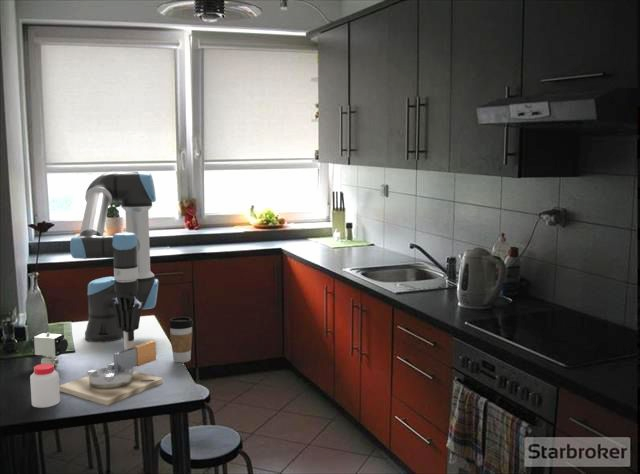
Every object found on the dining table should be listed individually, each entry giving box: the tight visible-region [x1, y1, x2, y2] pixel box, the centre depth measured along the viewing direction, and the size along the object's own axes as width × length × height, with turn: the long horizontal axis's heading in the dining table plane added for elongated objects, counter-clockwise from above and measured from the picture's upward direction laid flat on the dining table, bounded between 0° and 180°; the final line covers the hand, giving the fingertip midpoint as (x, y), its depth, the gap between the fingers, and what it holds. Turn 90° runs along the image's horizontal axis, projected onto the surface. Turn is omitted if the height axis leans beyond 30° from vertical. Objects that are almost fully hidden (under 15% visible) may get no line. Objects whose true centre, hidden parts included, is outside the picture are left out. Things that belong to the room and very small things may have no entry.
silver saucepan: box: [87, 340, 157, 389], centre depth 211 cm, size 24×13×8 cm, turn 148°
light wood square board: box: [59, 370, 164, 406], centre depth 207 cm, size 22×22×2 cm
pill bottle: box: [29, 363, 61, 409], centre depth 193 cm, size 8×8×11 cm
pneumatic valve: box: [29, 332, 69, 367], centre depth 225 cm, size 6×12×12 cm, turn 78°
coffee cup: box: [168, 316, 194, 363], centre depth 232 cm, size 8×8×15 cm
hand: (128, 349), depth 220 cm, fingers closed
